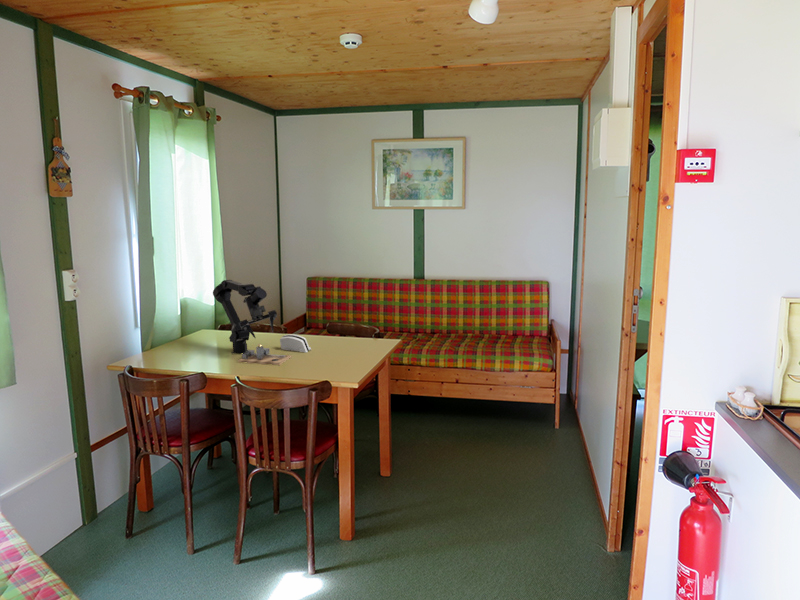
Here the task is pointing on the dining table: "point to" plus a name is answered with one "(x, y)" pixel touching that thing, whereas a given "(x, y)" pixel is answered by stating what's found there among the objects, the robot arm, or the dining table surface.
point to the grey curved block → (294, 343)
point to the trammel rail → (251, 353)
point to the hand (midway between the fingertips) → (264, 335)
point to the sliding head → (261, 351)
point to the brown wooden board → (265, 360)
